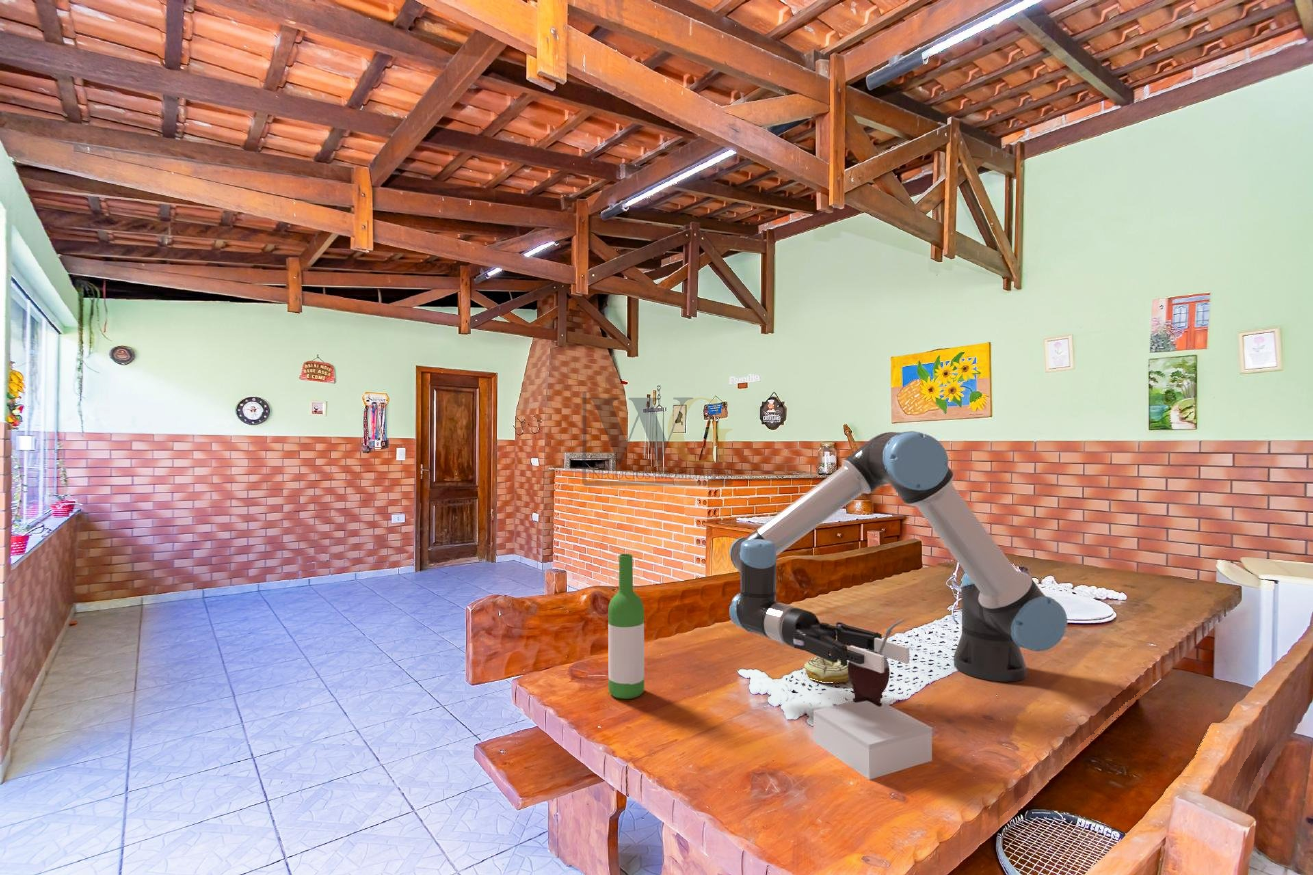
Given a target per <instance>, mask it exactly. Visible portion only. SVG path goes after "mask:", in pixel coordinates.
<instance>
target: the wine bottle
mask: <svg viewBox="0 0 1313 875" xmlns="http://www.w3.org/2000/svg"><path fill="white" fill-rule="evenodd" d="M633 560H634V559H633V554H631V553H622V554H621V553H620V554H619V556H618V592H617V593H615V594H614V596H613V597H612V598H611V600H610V601H609V604H608V611H607V612H608V614H607V616H608V617H607V618H608V620H607V621H608V622H607V624H608V625H607V628H608V629H607V630H608V631H607V632H608V633H607V635H608V636H607V638H608V639H607V640H608V641H607V642H608V643H607V644H608V650H607V652H608V653H607V654H608V659H607V660H608V661H607V662H608V668H607V669H608V691H609V693H610V695H611V696H612V697H613V698H616V699H620V700H631V699H634V698H637V697H640V696H641V695H642V694H643V692H644V689H645V622H644V621H645V618H644V616H645V613H644V612H645V609H644V604H643V601H642V599H641V598H640V596H639V595H638V594H637V593H636V592H635V591H634V586H633V585H634V575H633V571H634V570H633V568H634V567H633V566H634V565H633V563H634V562H633Z"/></svg>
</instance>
